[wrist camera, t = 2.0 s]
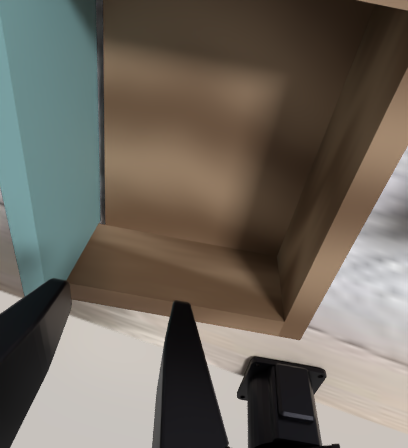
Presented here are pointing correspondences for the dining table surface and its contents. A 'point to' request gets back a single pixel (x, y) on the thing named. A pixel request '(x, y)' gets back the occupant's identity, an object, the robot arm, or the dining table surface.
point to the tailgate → (49, 133)
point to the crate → (242, 153)
